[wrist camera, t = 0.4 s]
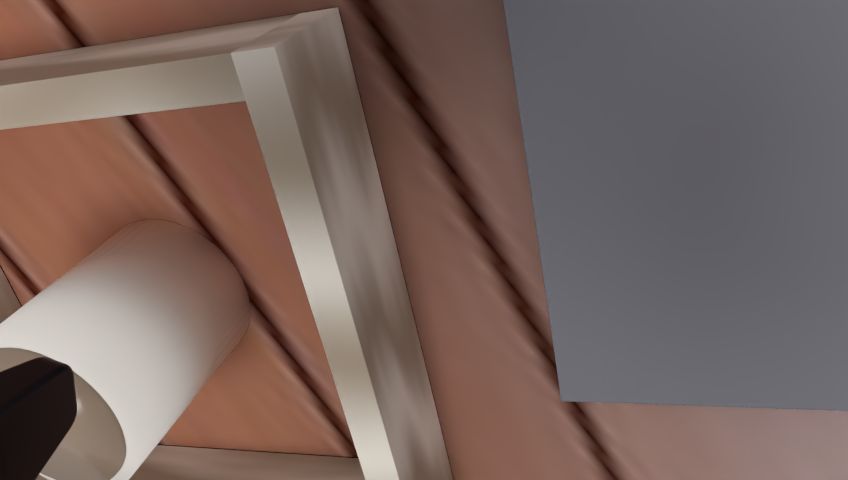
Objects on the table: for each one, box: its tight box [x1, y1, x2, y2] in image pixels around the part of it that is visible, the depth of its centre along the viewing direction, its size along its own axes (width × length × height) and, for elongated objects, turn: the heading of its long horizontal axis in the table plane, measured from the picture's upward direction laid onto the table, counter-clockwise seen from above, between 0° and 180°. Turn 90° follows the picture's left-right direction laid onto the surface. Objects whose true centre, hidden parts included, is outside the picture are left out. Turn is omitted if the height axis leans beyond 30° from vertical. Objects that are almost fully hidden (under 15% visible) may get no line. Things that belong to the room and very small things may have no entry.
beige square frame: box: [0, 7, 453, 480], centre depth 26 cm, size 18×18×4 cm
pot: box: [0, 220, 250, 480], centre depth 25 cm, size 6×6×7 cm
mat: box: [503, 0, 848, 411], centre depth 20 cm, size 14×12×1 cm
